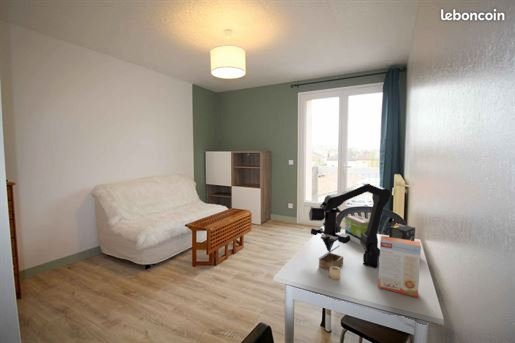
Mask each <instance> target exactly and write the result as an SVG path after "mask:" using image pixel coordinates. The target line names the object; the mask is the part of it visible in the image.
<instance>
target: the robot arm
mask: <svg viewBox="0 0 515 343" xmlns="http://www.w3.org/2000/svg"><path fill="white" fill-rule="evenodd" d="M364 193H365V194H366V193H369V194H372V197H371V198H372V203H373V204H372V208H371V211H370V215H369V219H368V220H369V223H368V227H367V231H366V232H365V233H361V237H360V239H359V240H360V244H361V246H362V248H363V250H365V251H364V253H363V255H362V256H363V257H362V259H363V260H362V262H363V263H362V265H364V266H368V267H371V268H374V269H377V268H379V261H380V248H379V240H378V231H379V228H380V227H379V226H380V223H381V219H382V215H383V213H384V208H385V207H386V205H387V204H388V203H389V202H390V199H391V196H392V192H391V191H390V189H388V188H385V187H381V186H374V185H372V184H370V183H368V182H362V183H361V184H359V185H358V184H357V186H354V187H351V188H349V189H347V190H345V191H342V192H339V193H331V194H329V195H326V196H325V197H324V199H323V200H324V201H323V202H322V203H321V204H319V206H310V209H309V213H308V218H309V221H310V222H312V221H313V222H314V221H315V222H319V221H320V222H322V221H323V220H324V222H323V223H322V225H323V227H324V228H323V227H319V226H315V227H312V228H311V230H310V234H311V235H313V236H317V235H318V234H319V235H321V236H320V239H321V240H322V242H323V244H324V246H325V248H326V250H327V252H329V251H331V250H332V248H333V245H334V243H335V242H338V243H341V244H348V243H349V242H350V241H351V240H350V236H349V235H347V234H345V233H344V232H343V233H341V230H342V226H340V225H339V224H338V222H337V220H338V219H337V218H338V214H340V213H342V211H341V210H340V208H339V207H341V205H343V204H344V203H345V202H346V201H348V200H351V199H353V198H355V197H358V196H361V195H363V194H364ZM338 233H341V234H338Z"/></svg>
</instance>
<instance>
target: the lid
mask: <svg viewBox="0 0 515 343" xmlns="http://www.w3.org/2000/svg"><path fill="white" fill-rule="evenodd" d="M339 247H340V245H337V246H335V247H334V248H333V249H332V248H331V250H330V251H327V252H326V253H325V254H324V255H322V256H320V257H319V258H318V260H320V259H321V258H323V257H324V256H326V255H327V254H329V253H333V252H334V251H335V250H336V249H338V248H339Z"/></svg>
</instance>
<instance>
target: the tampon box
mask: <svg viewBox="0 0 515 343" xmlns="http://www.w3.org/2000/svg"><path fill="white" fill-rule="evenodd" d="M388 230H389V232H388V237H392V238H398V239H404V240H410V241H415V238H416V237H415V236H416V227H414V226H410V225H406V224H402V223H398V224H394V225H391V226H389V229H388Z"/></svg>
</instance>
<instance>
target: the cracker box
mask: <svg viewBox="0 0 515 343" xmlns="http://www.w3.org/2000/svg"><path fill="white" fill-rule="evenodd" d="M379 247H380V248H379V249H380V256H379V266H378V288H379V289H382V290H387V291H391V292H396V293H399V294H403V295H407V296H410V297H415V298H418V297H419V283H420V271H421V270H420V267H421V266H420V265H421V251H422V250H421V249H422V246H421V242H420V241H416V240H414V241H410V240H404V239H398V238H392V237H389V236H385V235H382V236H380V246H379Z"/></svg>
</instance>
